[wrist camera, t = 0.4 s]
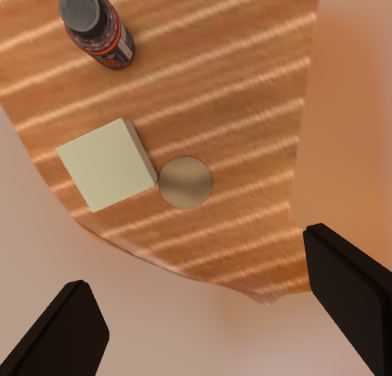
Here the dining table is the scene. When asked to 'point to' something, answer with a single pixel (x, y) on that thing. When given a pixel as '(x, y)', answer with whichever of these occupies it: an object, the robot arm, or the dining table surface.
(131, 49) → the supplement bottle
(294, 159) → the dining table surface
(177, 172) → the tan round plate
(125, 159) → the grey-green block
